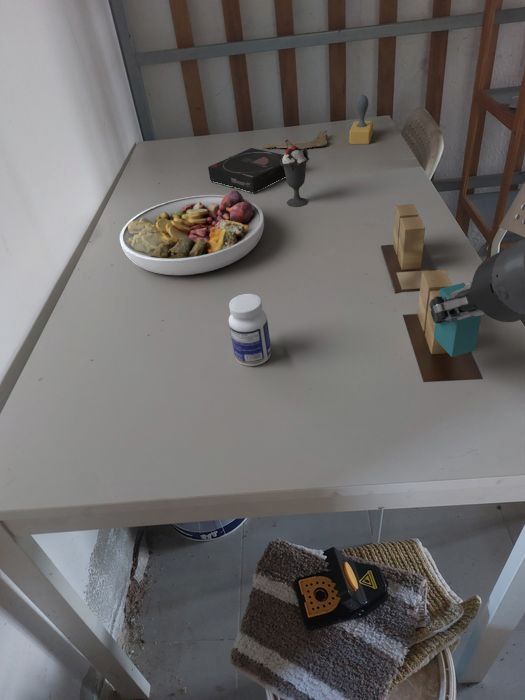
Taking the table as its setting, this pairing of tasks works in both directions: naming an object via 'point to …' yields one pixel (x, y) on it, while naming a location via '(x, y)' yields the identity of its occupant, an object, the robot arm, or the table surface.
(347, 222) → the table surface
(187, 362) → the table surface
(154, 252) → the bowl
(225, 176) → the black pizza box
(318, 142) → the jawbone
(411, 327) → the near word
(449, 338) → the teal upright block
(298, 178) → the sundae
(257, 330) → the pill bottle
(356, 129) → the rubber stamp
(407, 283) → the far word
